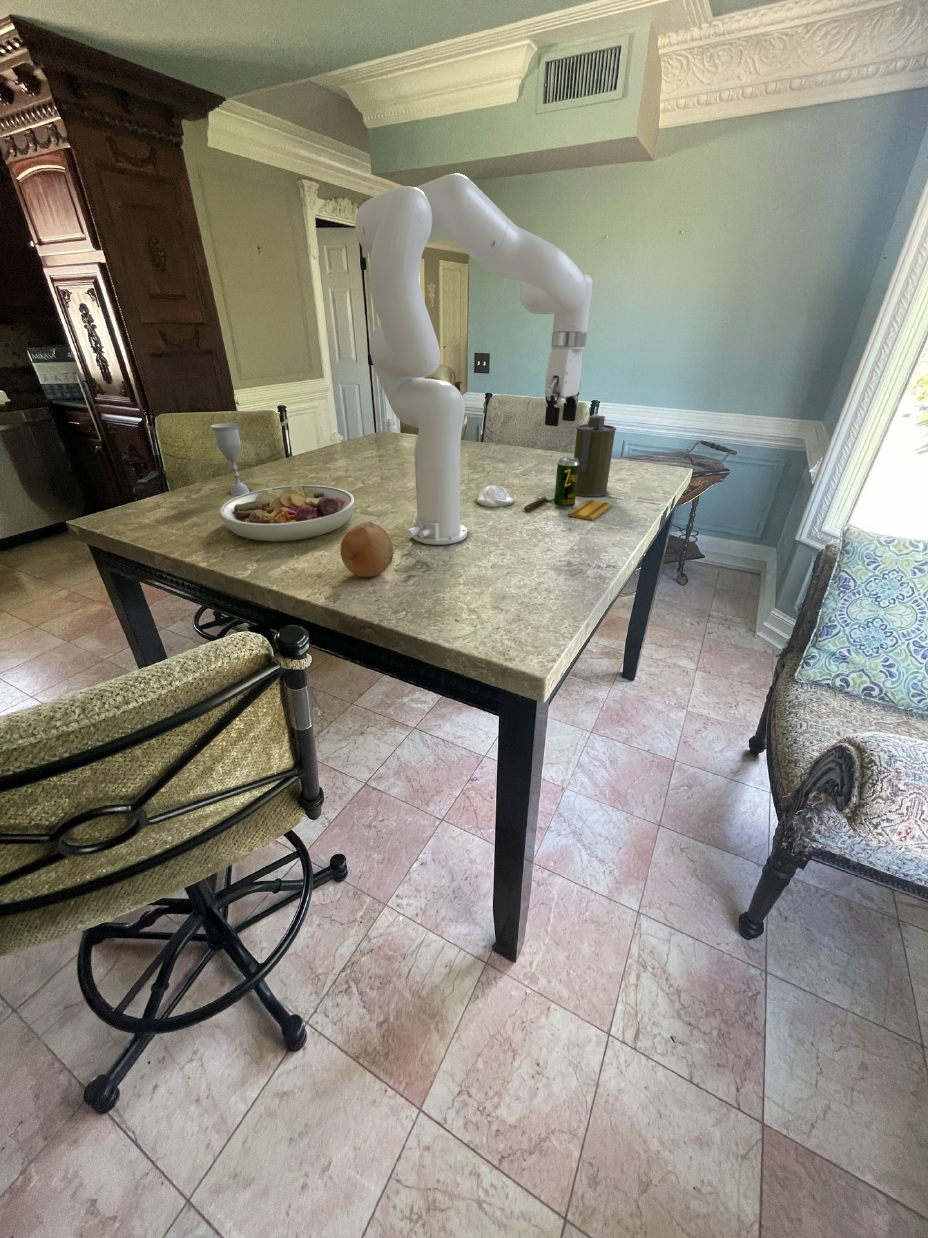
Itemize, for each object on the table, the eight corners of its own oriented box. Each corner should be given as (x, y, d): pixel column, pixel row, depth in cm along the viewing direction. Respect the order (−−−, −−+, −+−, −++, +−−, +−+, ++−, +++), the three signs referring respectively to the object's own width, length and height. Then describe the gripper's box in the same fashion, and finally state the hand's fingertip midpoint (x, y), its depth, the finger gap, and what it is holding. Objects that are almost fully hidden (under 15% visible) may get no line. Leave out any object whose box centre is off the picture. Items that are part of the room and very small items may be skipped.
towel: (592, 520, 121) (592, 516, 121) (569, 515, 124) (569, 512, 124) (610, 506, 131) (611, 503, 130) (588, 502, 133) (589, 499, 133)
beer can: (549, 504, 132) (553, 458, 126) (565, 502, 134) (570, 455, 128) (562, 510, 128) (566, 462, 122) (578, 507, 130) (584, 460, 124)
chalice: (247, 496, 139) (231, 427, 130) (222, 496, 139) (205, 427, 130) (256, 488, 145) (243, 422, 136) (233, 488, 145) (218, 422, 136)
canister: (578, 484, 149) (587, 412, 138) (612, 490, 143) (623, 415, 133) (562, 493, 141) (570, 417, 131) (597, 499, 136) (608, 421, 126)
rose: (487, 478, 137) (520, 483, 133) (487, 494, 140) (519, 500, 135) (470, 487, 130) (503, 493, 126) (470, 504, 132) (503, 510, 128)
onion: (351, 562, 100) (345, 514, 95) (400, 564, 99) (397, 515, 94) (335, 584, 91) (328, 532, 86) (389, 586, 90) (384, 534, 85)
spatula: (532, 513, 126) (532, 507, 125) (518, 510, 128) (518, 505, 127) (560, 496, 138) (560, 491, 137) (546, 494, 140) (547, 489, 139)
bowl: (195, 533, 113) (185, 499, 109) (288, 498, 137) (282, 468, 133) (298, 556, 102) (291, 519, 98) (380, 513, 126) (377, 482, 122)
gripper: (568, 341, 120) (560, 417, 128) (535, 341, 107) (529, 425, 116) (598, 341, 116) (588, 420, 124) (568, 341, 103) (559, 429, 112)
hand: (560, 422), depth 120 cm, fingers open, 9 cm apart
